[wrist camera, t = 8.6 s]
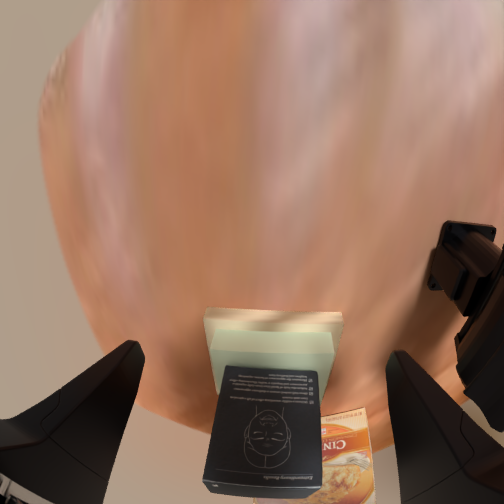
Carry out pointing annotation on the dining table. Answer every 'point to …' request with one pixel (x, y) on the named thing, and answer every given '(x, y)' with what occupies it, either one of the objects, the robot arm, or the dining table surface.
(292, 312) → the lower slab
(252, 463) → the box
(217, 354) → the upper slab
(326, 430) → the coffeecake box
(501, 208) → the dining table surface
